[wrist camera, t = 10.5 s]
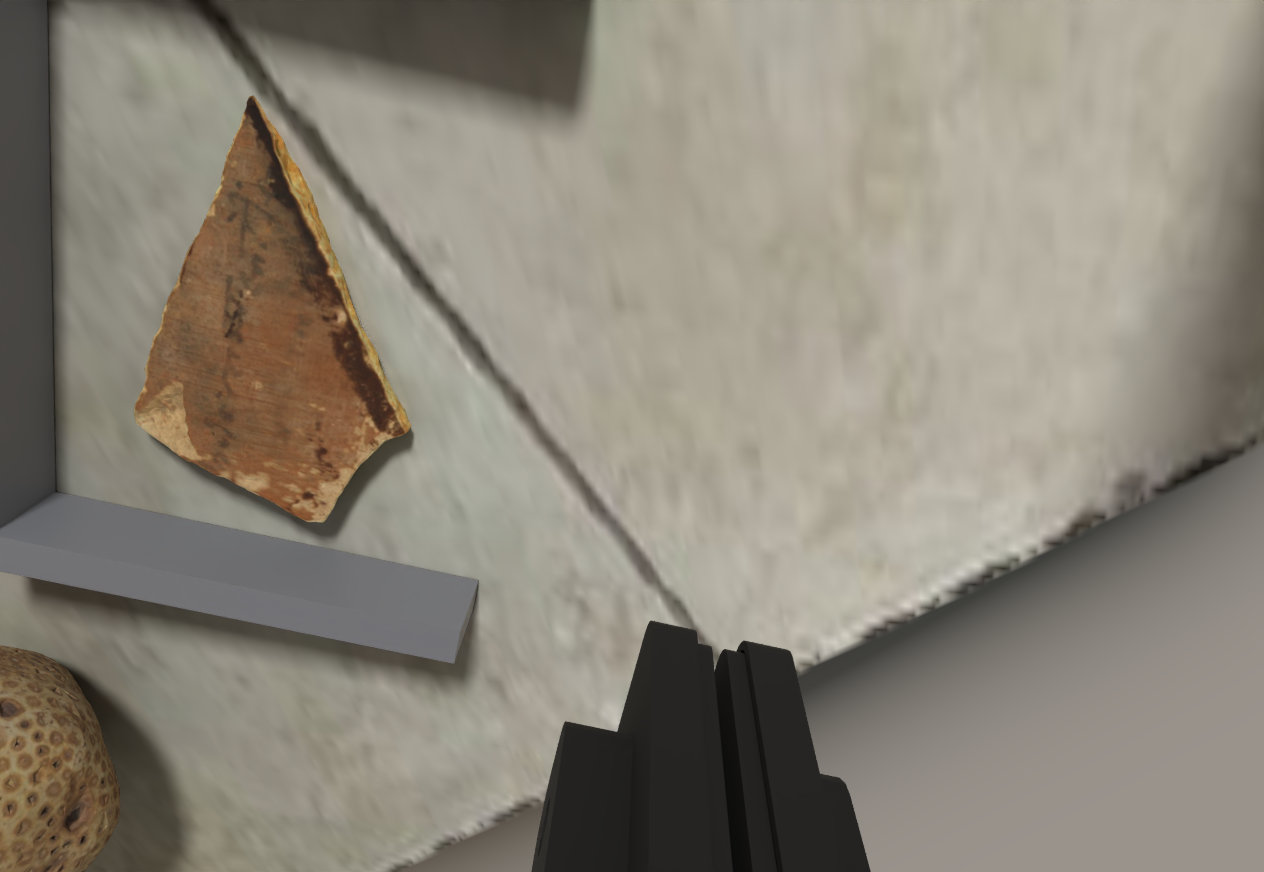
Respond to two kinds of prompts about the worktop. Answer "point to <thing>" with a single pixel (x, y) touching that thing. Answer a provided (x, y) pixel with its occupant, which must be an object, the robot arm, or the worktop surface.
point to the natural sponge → (51, 769)
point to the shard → (267, 343)
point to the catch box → (137, 539)
